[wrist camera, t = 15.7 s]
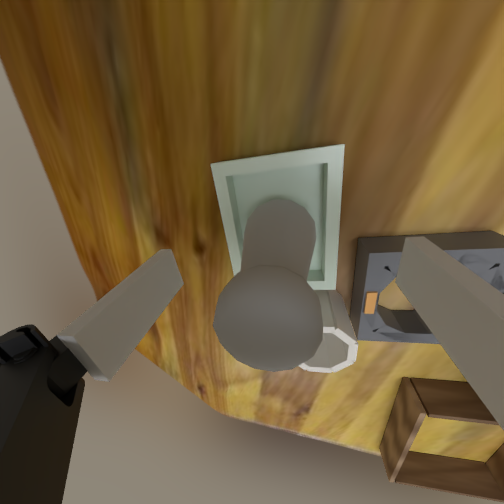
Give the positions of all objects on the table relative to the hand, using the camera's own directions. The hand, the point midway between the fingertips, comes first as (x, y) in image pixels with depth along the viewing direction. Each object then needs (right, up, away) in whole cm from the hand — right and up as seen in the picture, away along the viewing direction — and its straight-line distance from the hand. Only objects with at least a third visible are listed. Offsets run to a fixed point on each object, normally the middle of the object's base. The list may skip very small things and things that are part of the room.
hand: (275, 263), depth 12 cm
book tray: (+27, -24, +17) cm, 40 cm away
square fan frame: (+14, -2, +8) cm, 16 cm away
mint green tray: (+1, +3, +7) cm, 8 cm away
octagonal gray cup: (+6, -5, +11) cm, 13 cm away
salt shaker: (+1, +3, +7) cm, 8 cm away
